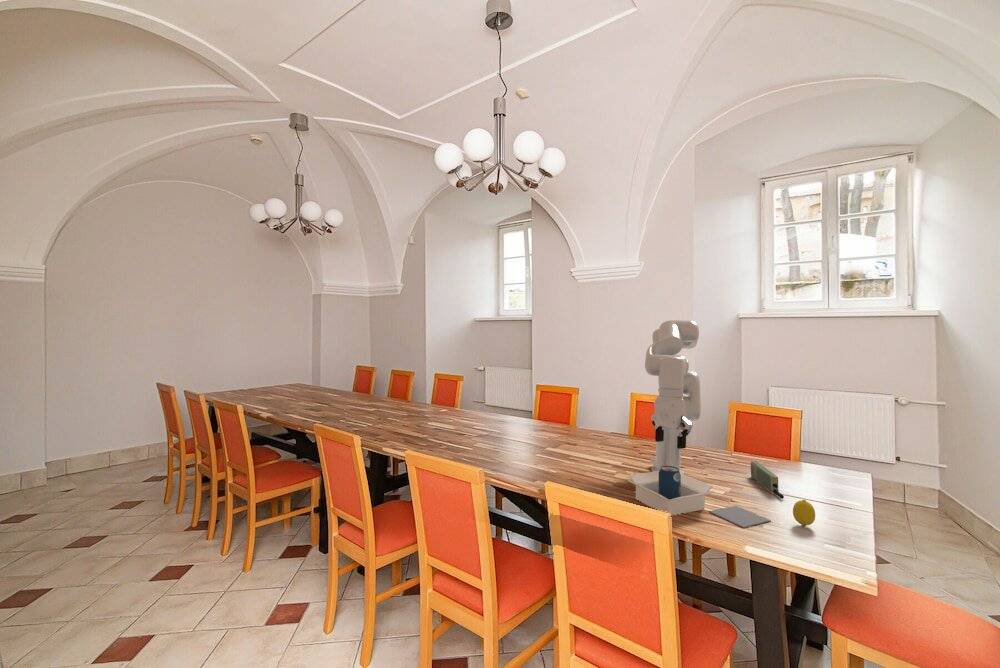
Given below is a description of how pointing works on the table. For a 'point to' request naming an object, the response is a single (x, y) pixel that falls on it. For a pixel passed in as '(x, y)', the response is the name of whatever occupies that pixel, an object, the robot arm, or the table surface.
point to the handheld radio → (765, 478)
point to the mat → (739, 516)
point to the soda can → (669, 482)
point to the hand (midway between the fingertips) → (670, 444)
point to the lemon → (804, 513)
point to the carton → (688, 501)
